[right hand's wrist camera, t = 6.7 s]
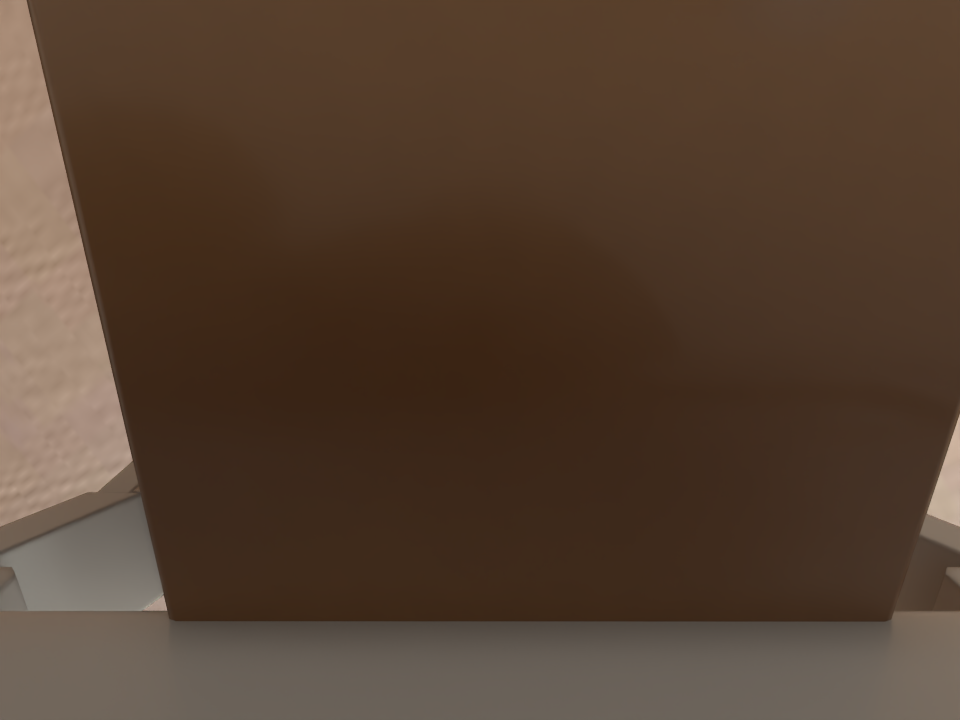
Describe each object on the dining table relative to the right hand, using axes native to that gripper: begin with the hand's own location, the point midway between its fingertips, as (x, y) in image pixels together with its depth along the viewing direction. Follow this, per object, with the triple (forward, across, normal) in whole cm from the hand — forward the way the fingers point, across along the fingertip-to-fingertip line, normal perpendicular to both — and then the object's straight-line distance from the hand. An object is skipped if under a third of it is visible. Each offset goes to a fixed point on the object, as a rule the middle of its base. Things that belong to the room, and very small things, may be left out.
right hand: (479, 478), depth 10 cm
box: (+5, 0, -9) cm, 10 cm away
